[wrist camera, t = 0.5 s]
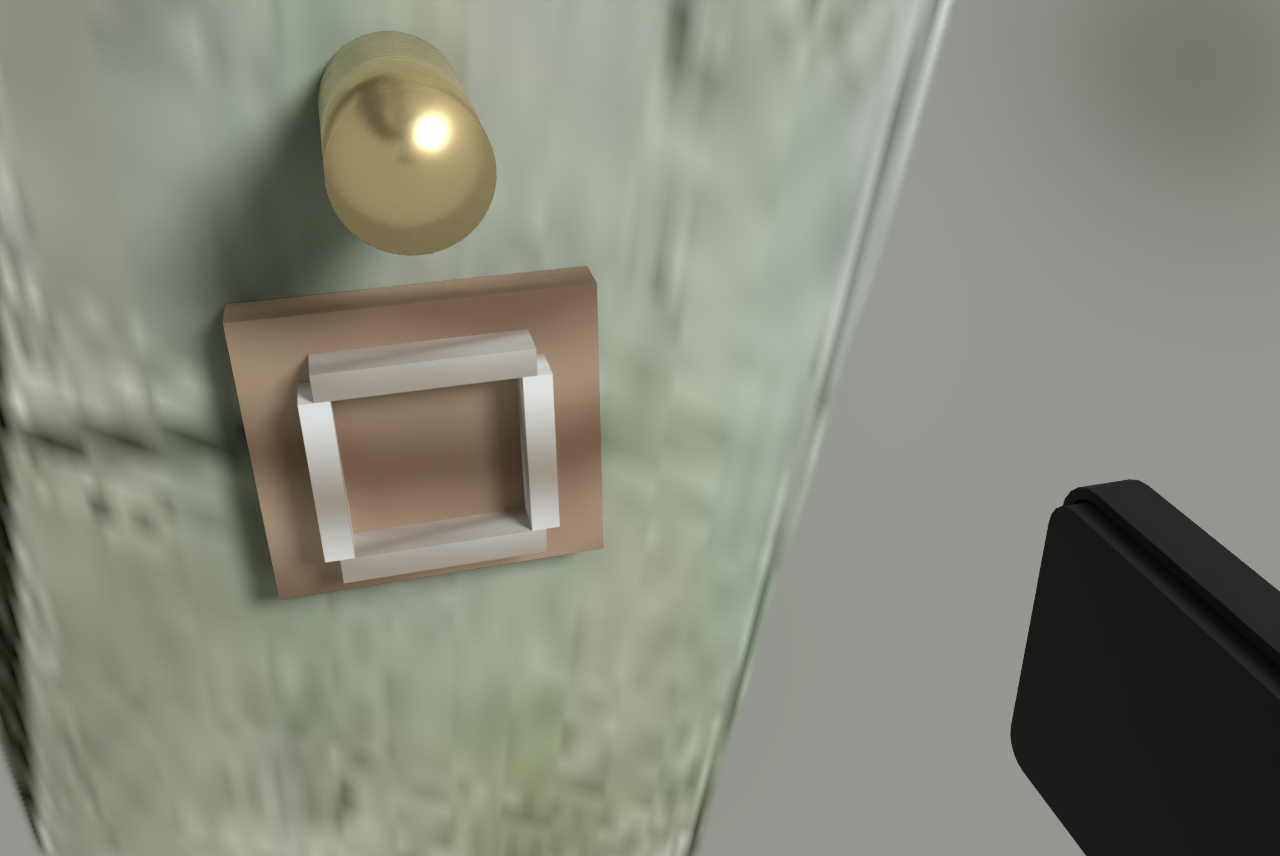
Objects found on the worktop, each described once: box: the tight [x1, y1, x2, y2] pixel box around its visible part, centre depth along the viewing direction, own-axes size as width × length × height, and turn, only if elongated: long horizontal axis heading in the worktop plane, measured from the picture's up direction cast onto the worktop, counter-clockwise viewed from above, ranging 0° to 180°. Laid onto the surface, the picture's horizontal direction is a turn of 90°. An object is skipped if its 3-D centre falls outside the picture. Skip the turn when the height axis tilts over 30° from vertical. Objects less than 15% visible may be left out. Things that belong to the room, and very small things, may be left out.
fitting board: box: [223, 266, 603, 600], centre depth 41 cm, size 11×12×3 cm
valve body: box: [318, 31, 496, 256], centre depth 33 cm, size 4×4×7 cm
